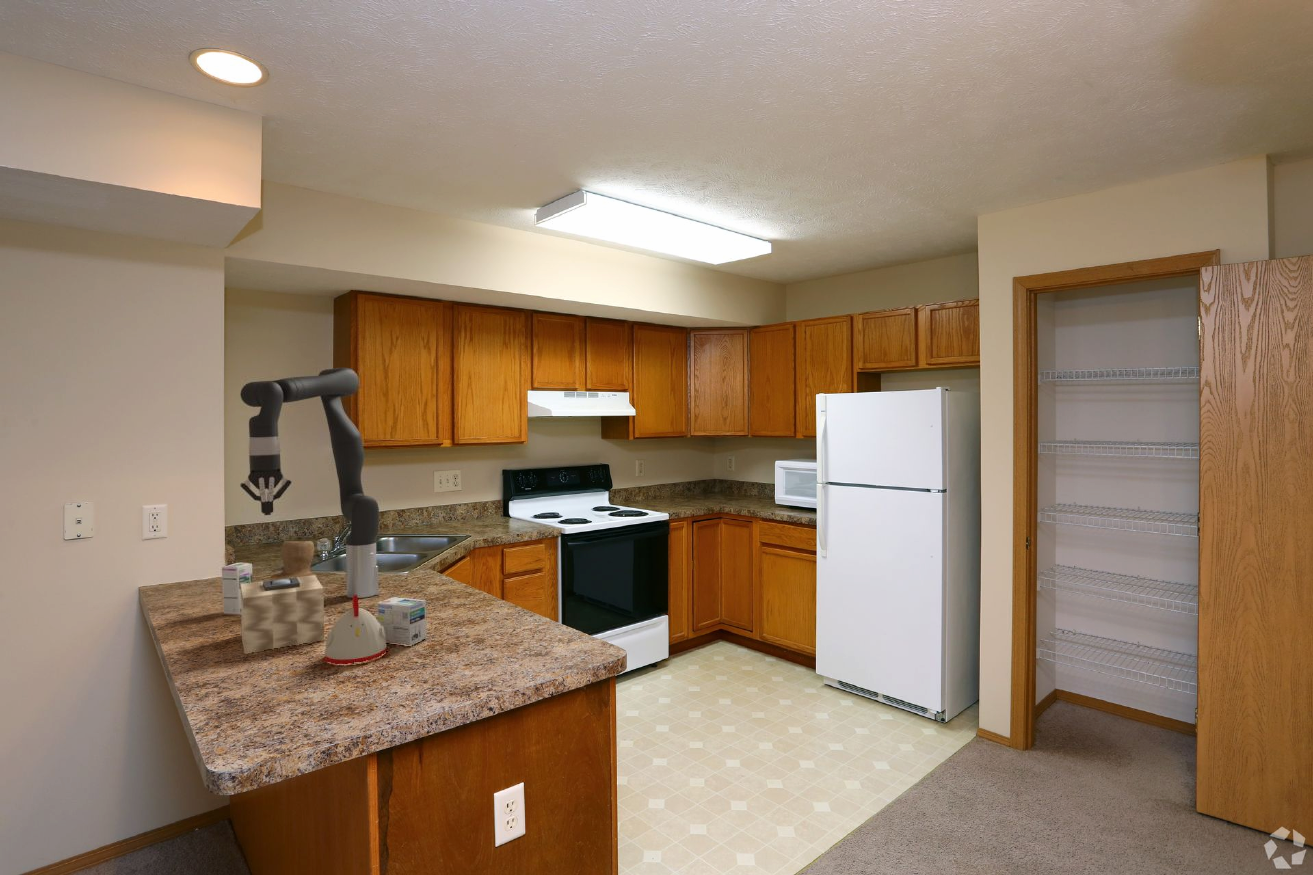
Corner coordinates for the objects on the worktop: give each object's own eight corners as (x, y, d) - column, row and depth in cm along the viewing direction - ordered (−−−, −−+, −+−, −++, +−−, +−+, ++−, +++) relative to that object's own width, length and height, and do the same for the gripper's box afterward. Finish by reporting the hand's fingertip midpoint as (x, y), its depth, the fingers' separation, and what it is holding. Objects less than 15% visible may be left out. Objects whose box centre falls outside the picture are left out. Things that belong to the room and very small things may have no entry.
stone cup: (316, 576, 253) (315, 536, 253) (318, 582, 243) (317, 541, 243) (269, 581, 246) (268, 539, 245) (269, 588, 235) (269, 545, 235)
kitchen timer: (325, 670, 158) (324, 606, 157) (324, 652, 170) (323, 592, 169) (389, 660, 164) (388, 598, 164) (383, 643, 176) (382, 586, 176)
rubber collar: (296, 580, 186) (296, 577, 186) (299, 586, 179) (299, 582, 179) (263, 584, 182) (263, 581, 182) (265, 591, 175) (265, 587, 175)
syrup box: (239, 614, 203) (238, 566, 202) (222, 613, 204) (221, 565, 204) (254, 609, 208) (253, 562, 208) (237, 608, 210) (236, 562, 209)
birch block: (315, 623, 193) (314, 575, 193) (324, 640, 178) (323, 587, 178) (241, 634, 184) (240, 583, 183) (244, 653, 169) (243, 598, 168)
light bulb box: (427, 639, 179) (427, 599, 179) (410, 647, 173) (410, 605, 172) (394, 635, 183) (393, 595, 182) (376, 643, 176) (375, 602, 176)
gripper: (289, 451, 196) (292, 510, 197) (235, 453, 189) (238, 515, 189) (293, 452, 190) (295, 513, 191) (238, 455, 182) (240, 519, 183)
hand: (267, 514), depth 190 cm, fingers closed
